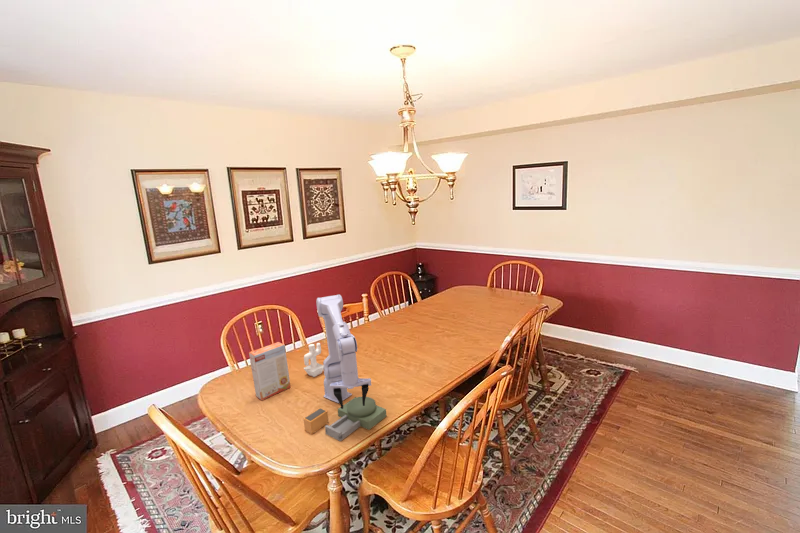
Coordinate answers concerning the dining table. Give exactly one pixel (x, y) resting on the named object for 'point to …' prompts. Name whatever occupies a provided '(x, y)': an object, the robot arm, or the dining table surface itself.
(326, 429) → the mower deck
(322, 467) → the dining table surface
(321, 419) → the orange-framed grey panel
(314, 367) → the figurine
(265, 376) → the cracker box
